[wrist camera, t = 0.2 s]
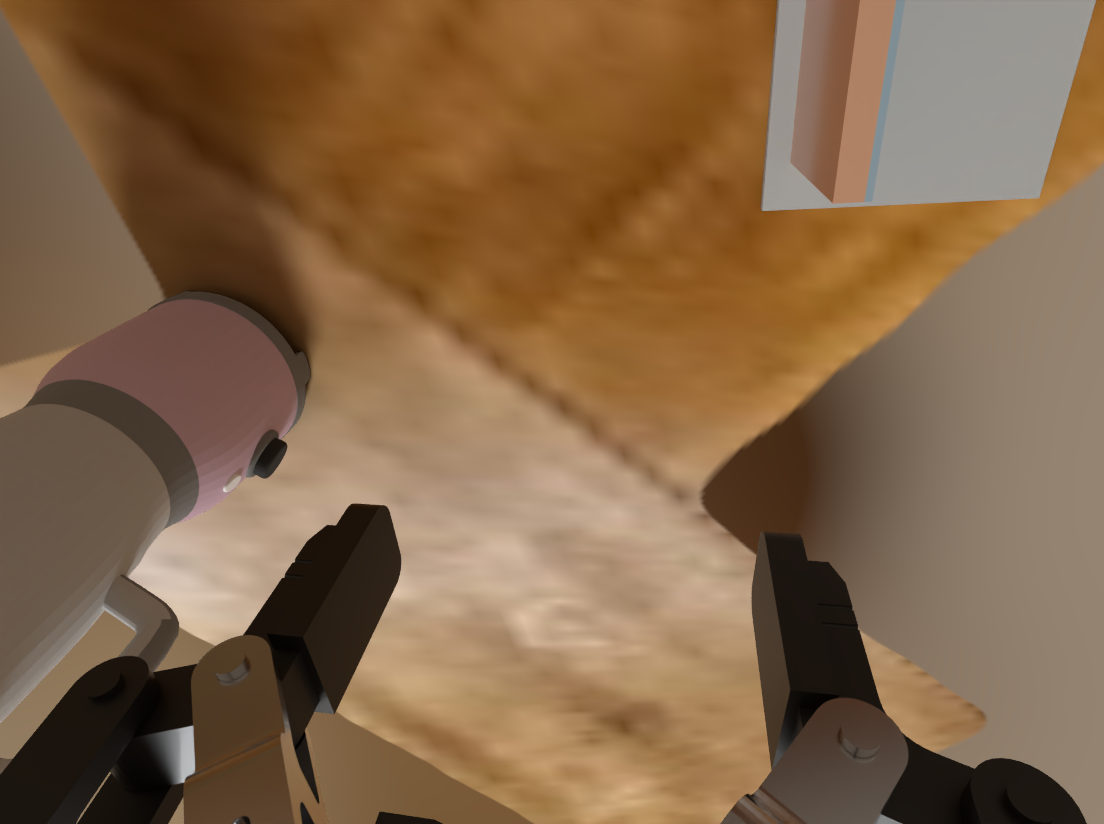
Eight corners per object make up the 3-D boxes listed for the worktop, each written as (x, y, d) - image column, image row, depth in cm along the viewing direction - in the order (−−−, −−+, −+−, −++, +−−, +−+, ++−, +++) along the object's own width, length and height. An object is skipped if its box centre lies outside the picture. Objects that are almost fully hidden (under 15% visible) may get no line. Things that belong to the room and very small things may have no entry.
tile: (807, -15, 31) (864, -35, 22) (840, -18, 30) (911, -40, 22) (790, 162, 34) (832, 203, 26) (819, 160, 34) (872, 201, 26)
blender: (140, 384, 49) (-501, 812, 22) (168, 251, 43) (-672, 616, 16) (326, 479, 52) (-49, 977, 24) (378, 365, 45) (-46, 859, 18)
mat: (783, -75, 30) (785, -77, 29) (1120, -115, 28) (1129, -117, 27) (760, 208, 36) (762, 210, 36) (1033, 195, 34) (1038, 198, 34)
